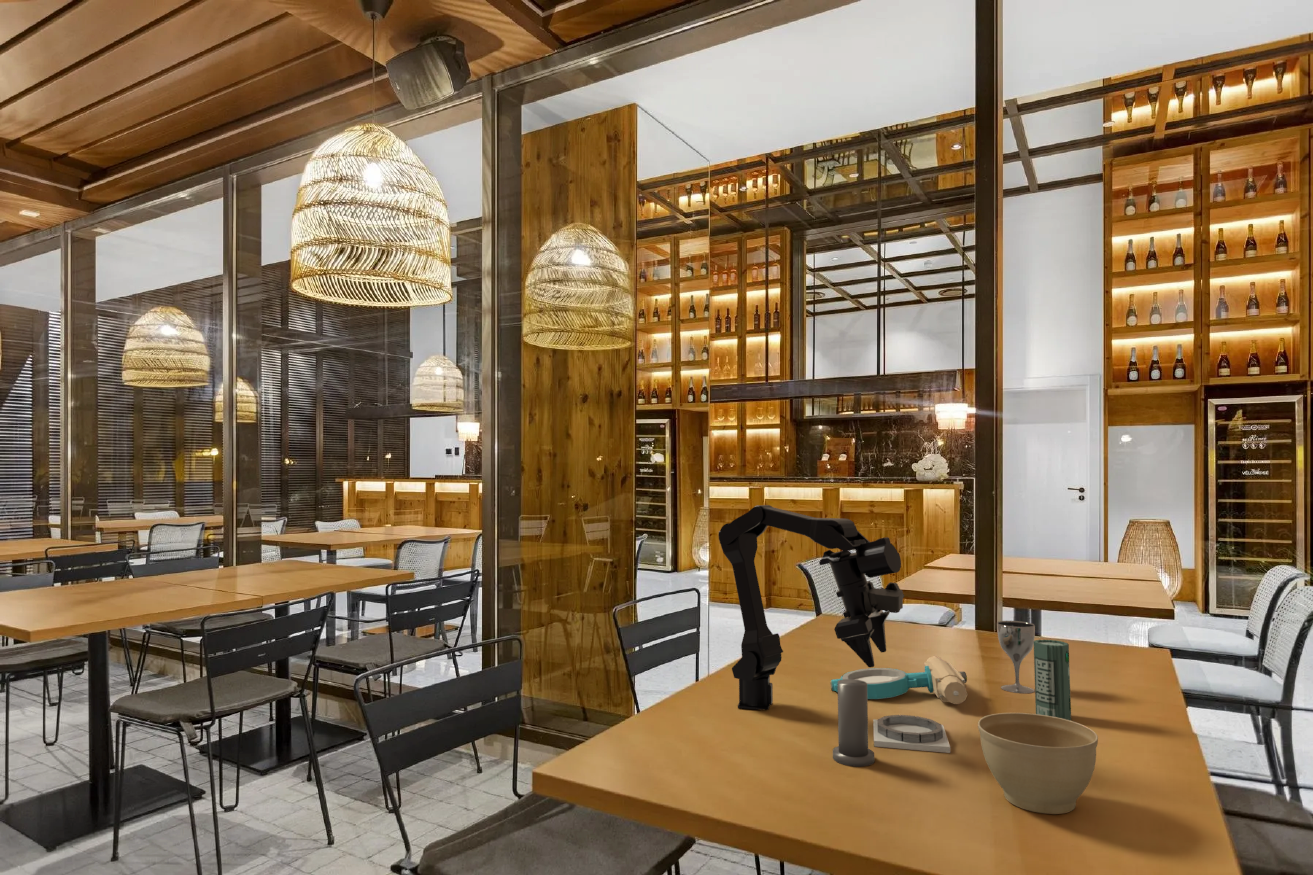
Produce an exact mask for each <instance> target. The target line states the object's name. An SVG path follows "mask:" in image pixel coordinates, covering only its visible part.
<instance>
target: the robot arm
mask: <svg viewBox="0 0 1313 875" xmlns="http://www.w3.org/2000/svg"><path fill="white" fill-rule="evenodd" d="M768 526H769V527H771V528H776V529H779V530H784V531H787V532H791V533H794V534H798V535H801V536H805V537H808V538H809V539H810V540H811V541H813V542H814V543H816V544H818V545H820V546H822V547H824V548H827V549H828V550H826V551H824V552H823V555H822V557H821V559H820V560H819V563H818V564H819V565H820V566H824V565H830V569H831V571H832V574H833V576H834V580H835V584H836V585H837V588H838V590H837V591H836V597H837V598H841V601H842V605H843V607H844V610H845V611H843V612H842V614H843V618H841V619H840V620H839V621H838V622H837V623H836V625H835V627H834V633H835V636H836V639H839V640H841V642H844V643H845V644H846V645H847V646H848V647H849V648H850V649H851V650H852V652H854V653H855V654H856V655H857V657H858V658H860V659H861V661H862V662H863V663H864V664H865V665H866V666H867V667H868V668H875V660H874V655H873V648H872V644H871V641H872V642H873V643H874V645H875V646H876V648H877V649H878V651H879V652H880V653H886V652H887V640H886V629H885V628H886V627H885V623H886V620H887V618H888V617H889V615H890V613H891V614H897V613H900V612H901V610H902V609H903V603H904V597H905V594H904V592H903V590H902V589H901V588H900V586H899V585H898V582H888V584H886V587H885V588H884V587H881V588H879V587H878V588H876V587H874V584H873V583H874V582H871V580H867V578H869V579H870V578H877V577H881V576H886V575H891V574H896V573H899V572H900V571H901V568H902V560H901V555H900V553H899V552H898V550H897V548H896V547H895V546H894V545H893V544H892V542H891V539H890V537H888V536H887V537H881V538H877V539H875V540H873V541H870V540H869V539H867V538H866V537H865V536H864V535H863V534H862V533H861V532H860V531H858V528H857V526H856V525H855V522H854V521H852V520H851V519H849V518H838V517H837V518H835V517H834V518H833V517H832V518H830V517H813V516H809V515H806V514H801V513H799V512H798V513H797V512H794V511H790V510H786V509H781V508H779V507H778V508H777V507H774V506H772V505H770V504H769V505H768V504H763V505H762V504H761V505H759V504H757V505H755V506H753V507H752V508H751V509H750V510H749V511H747V512H745V513H744V514H742V515H740V516H739V517H737V518H735V519H734V520H732V521H731V522H730V523H729V522H728V523H725V524H723V525H722V526H721V527H720V530H719V531H718V542H719V545H720V547H721V550H722V553H723V554H724V556H725V557H726V559H727V560H728V561H729V562H730V565H731V567H732V572H733V576H734V581H735V587H736V593H737V597H738V601H739V607H740V611H741V617H742V622H743V627H744V634H743V637H742V642H741V644H740V646H741V647H740V648H741V650H740V651H741V658H740V659H739V660H738V661H737V662H736V663H735V664H734V665H733V666H732V668H731V671H732V674H733V678H734V679H737V680H738V691H739V692H738V700H739V701H738V704H737V708H738V709H748V710H758V711H760V710H761V711H768V710H769V709H770V707H771V706H772V705H773V702H774V700H773V699H774V698H773V683H772V682H770V681H771V678H770V677H771V676H774V675H775V673H776V670H777V667H778V666H779V665H780V663H781V662H782V653H784V650H783V649H782V648H783V647H782V645H781V638H780V634H779V633H778V632H777V633H774V634H773V632H772V631H771V629H770V628H769V627H768V622H767V619H766V613H765V609H764V603H763V599H762V594H761V590H760V584H759V578H758V575H757V570H756V563H755V560H756V556H757V555H756V554H757V552H758V538H759V537H760V536H761V535H762V534H763V533H765V531H766V530H767V528H768ZM836 549H838V550H840V551H832V550H836ZM854 550H855V552H850V551H854ZM866 577H867V578H866Z"/></svg>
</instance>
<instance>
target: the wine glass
mask: <svg viewBox="0 0 1313 875" xmlns="http://www.w3.org/2000/svg"><path fill="white" fill-rule="evenodd" d="M1035 627H1036V626H1035V624H1034V623H1032V622H1027V621H1021V620H1019V621H1018V620H999V621H997V622H996V630H997V633H996V634H997V639H998V642H999V645H1000V648H1001V649H1002V651H1004V652H1005V654H1006V655H1007V656H1008V657H1009V658H1010V660H1011V662H1012V665H1013V667H1014V668H1013V669H1014V674H1015V675H1014V676H1015V677H1014V678H1015V680H1014V681H1015V682H1014V683H1013V684H1005V685H1001V686H1000V689H1001V690H1003V691H1006V692H1009V693H1014V694H1032V693H1035V688H1031V687H1029V686H1025V685H1022V684H1021V683H1020V670H1021V669H1020V668H1021V664H1022V662H1023V660H1024V659H1025V658H1026V657H1027V656H1028V655H1029V654H1031V652H1032V650H1033V649H1034V641H1035V639H1036V638H1035V637H1036V636H1035V635H1036V633H1035V632H1036V630H1035V629H1036V628H1035Z"/></svg>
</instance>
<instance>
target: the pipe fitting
mask: <svg viewBox="0 0 1313 875" xmlns="http://www.w3.org/2000/svg"><path fill="white" fill-rule="evenodd" d="M868 713H869V712H868V699H867V683H866V682H864V681H861V680H855V679H843V680H839V681H838V692H837V723H838V724H837V726H838V727H837V729H838V733H837V735H838V737H837V738H838V746H835V747H834V748H832V759H833V760H834V762H836V763H838V764H840V765H843V766H849V767H854V768H855V767H856V768H857V767H858V768H859V767H869V766H872V765H873V764H874V763H875V752H874V751H873V750H872V749H870V748H869V721H868V720H869V714H868Z"/></svg>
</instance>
